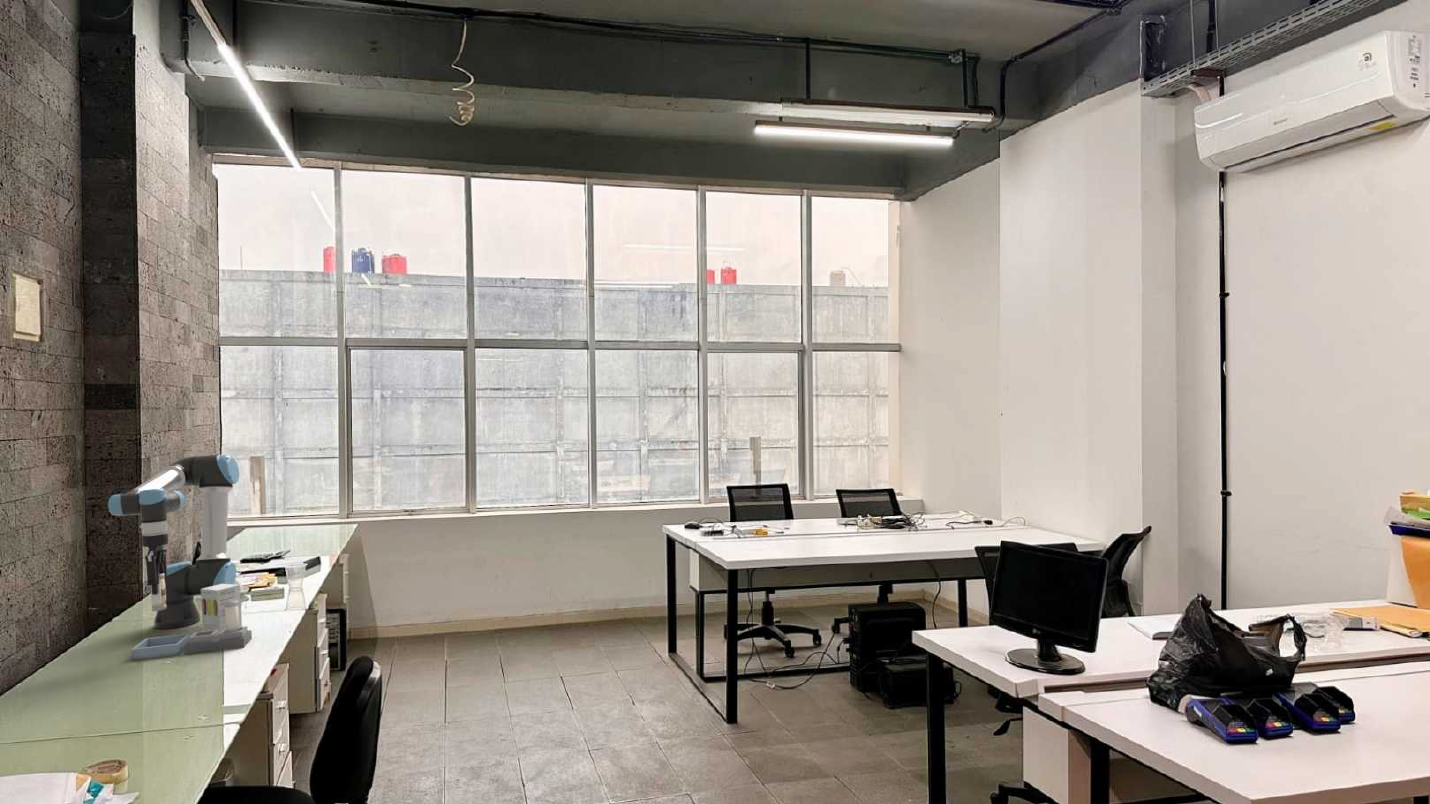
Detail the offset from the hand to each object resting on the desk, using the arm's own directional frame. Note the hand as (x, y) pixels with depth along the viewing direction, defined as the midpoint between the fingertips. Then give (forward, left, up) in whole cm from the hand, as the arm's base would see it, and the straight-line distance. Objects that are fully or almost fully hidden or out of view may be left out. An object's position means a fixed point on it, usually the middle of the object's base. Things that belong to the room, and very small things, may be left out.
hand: (158, 601), depth 298 cm
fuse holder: (+2, +18, -17) cm, 25 cm away
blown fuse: (0, 0, -3) cm, 3 cm away
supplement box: (-19, +14, -17) cm, 29 cm away
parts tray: (0, 0, -17) cm, 17 cm away
